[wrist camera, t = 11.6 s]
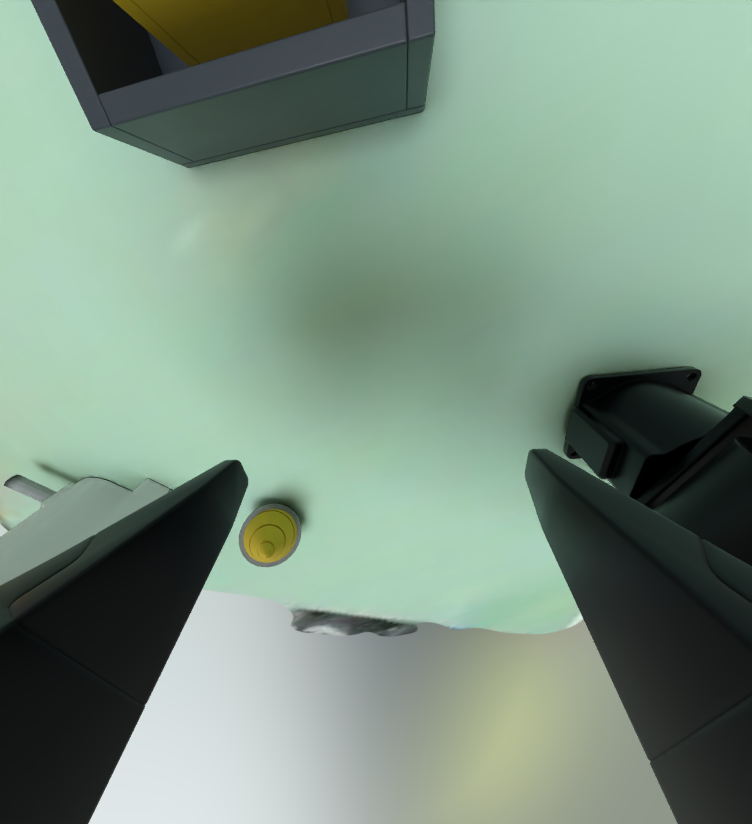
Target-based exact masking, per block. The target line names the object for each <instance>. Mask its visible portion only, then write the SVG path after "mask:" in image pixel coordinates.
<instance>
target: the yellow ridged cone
mask: <svg viewBox="0 0 752 824" xmlns="http://www.w3.org/2000/svg"><path fill="white" fill-rule="evenodd" d="M300 538H301V525H300V521H299V519H298V517H297V515H296V514H295V512H294V511H293V510H292V509H291V508H289V507H287V506H285V505H282V504H276V503H274V504H267V505H264V506H261V507H259V508H257V509H256V510H255V511H253V512H252V513H251V514H250V515H249V516H248V518H247V519H246V521H245V522H244V524H243V526H242V528H241V530H240V535H239V546H240V550H241V552H242V554H243V556H244V557H245V558H246V559H247V560H248V561H249V562H250V563H252V564H254V565H256V566H260V567H271V566H275V565H278V564H281V563H282V562H284V561H286V560H287V559H288V558H289V557H290V556H291V555H292V554H293V553H294V552H295V550H296V548H297V547H298V544H299V542H300Z"/></svg>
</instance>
